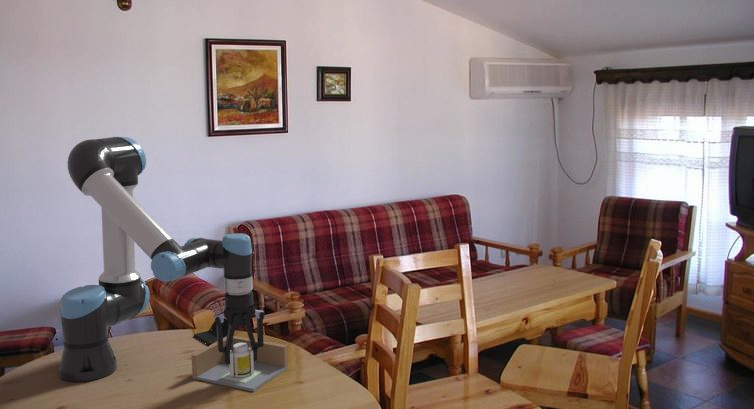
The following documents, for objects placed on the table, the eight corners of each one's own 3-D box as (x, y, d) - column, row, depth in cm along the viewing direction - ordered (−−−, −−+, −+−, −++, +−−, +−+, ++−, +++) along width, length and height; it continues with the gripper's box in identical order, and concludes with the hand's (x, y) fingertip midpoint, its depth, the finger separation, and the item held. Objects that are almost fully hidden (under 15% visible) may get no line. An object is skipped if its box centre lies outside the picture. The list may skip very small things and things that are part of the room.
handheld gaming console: (187, 333, 221) (205, 306, 224) (202, 341, 227) (219, 314, 229) (209, 347, 214) (227, 319, 217) (224, 355, 220) (241, 327, 222)
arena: (192, 378, 191) (191, 355, 190) (229, 356, 207) (229, 334, 205) (253, 391, 183) (252, 367, 182) (287, 368, 198) (287, 345, 197)
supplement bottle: (254, 372, 193) (253, 343, 191) (243, 379, 189) (242, 349, 187) (240, 369, 195) (238, 340, 193) (229, 375, 191) (228, 346, 189)
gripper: (206, 298, 181) (210, 383, 185) (274, 291, 187) (276, 373, 191) (203, 290, 188) (206, 372, 192) (268, 284, 194) (270, 363, 198)
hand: (241, 373), depth 192 cm, fingers closed on supplement bottle, 5 cm apart
